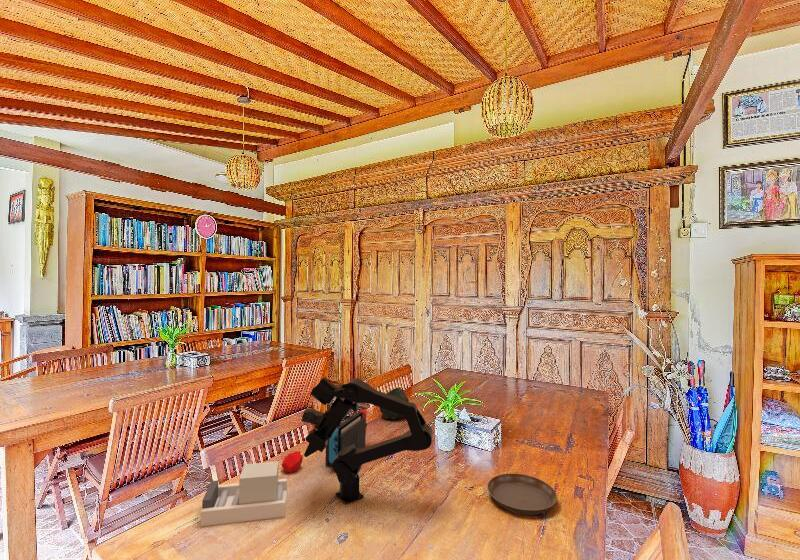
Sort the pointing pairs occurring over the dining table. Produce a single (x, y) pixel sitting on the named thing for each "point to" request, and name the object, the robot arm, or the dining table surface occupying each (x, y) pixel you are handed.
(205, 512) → the roller bed
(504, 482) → the plant saucer
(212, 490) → the rubber stop
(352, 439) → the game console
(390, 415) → the squash
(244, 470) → the beige block
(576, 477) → the dining table surface
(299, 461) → the apple
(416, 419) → the robot arm
